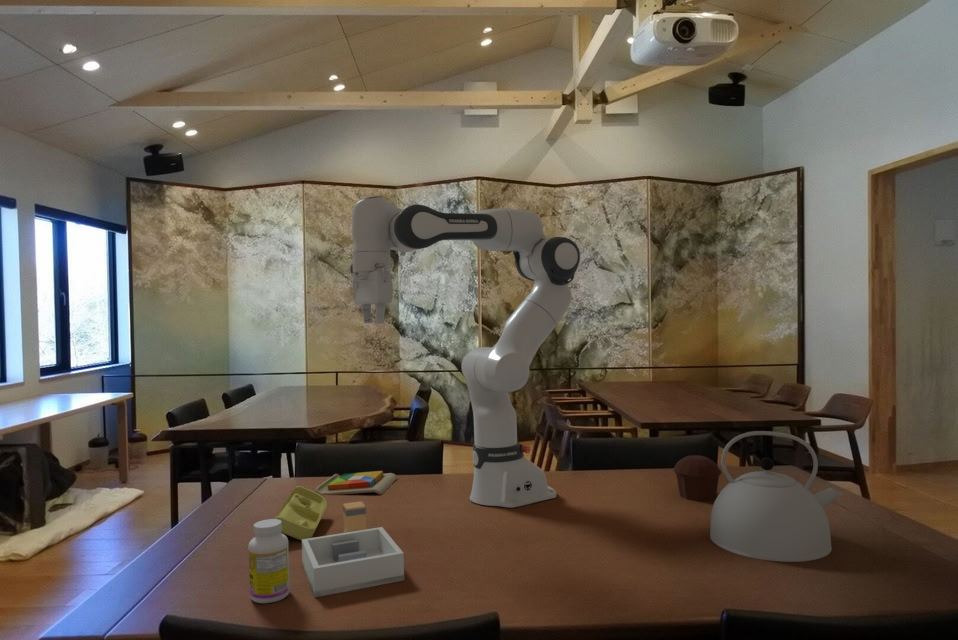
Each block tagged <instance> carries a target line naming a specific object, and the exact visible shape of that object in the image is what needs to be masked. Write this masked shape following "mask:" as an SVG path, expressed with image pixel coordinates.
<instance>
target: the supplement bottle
mask: <svg viewBox="0 0 958 640" xmlns="http://www.w3.org/2000/svg"><path fill="white" fill-rule="evenodd" d="M281 530H282V521H281V520H278V519H274V518H268V519H263V520H259V521H256V522H255V523H254V524H253V533H254V535H255V536H254V537H252V538H251V540H250V541H249V543H248V547H247V548H248V570H249V571H248V572H249V573H248V574H249V577H248V578H249V579H248V580H249V594H250V595H249V597H250V600H252V602H254V603H256V604H271V603H277V602H279V601H281V600H283V599H285V598H286V597H287V596H289V594H290V591H291V584H290V583H291V581H290V580H291V579H290V552H289V539H288V537H287V535H286V534H284V533H281Z"/></svg>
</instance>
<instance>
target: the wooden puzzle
mask: <svg viewBox="0 0 958 640" xmlns="http://www.w3.org/2000/svg"><path fill="white" fill-rule="evenodd" d="M396 479H397V480H398V477H397V475H396V474H395V473H392V472H388V473H387V472H386V473H384V471H383V470H377V471H376V470H375V471H364V472H363V471H362V472H350V473H349V472H348V473H343V474H341V475H340V474H338V473H335V474H333V475H332V476H331V477H329V478H328V479H327V480H325V481H323V482H322V483H321V484H320V485H318V486H317V487H315V492H316V493H318V494H320V495H321V496H323V495H324V496H325V495H326V496H327V495H329V496H331V495H332V496H334V495H337V496H338V495H353V494H367V493H375V494H377V495H379V496H380V495H383V494H384V493H385V492H386V491H387V490H388V489H389V488H390V487H391V486H392V485H393V484H394V483H395V482H396V481H397V480H396ZM395 480H396V481H395ZM394 481H395V482H394ZM393 482H394V483H393ZM392 483H393V484H392ZM391 484H392V485H391Z"/></svg>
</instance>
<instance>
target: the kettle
mask: <svg viewBox="0 0 958 640" xmlns="http://www.w3.org/2000/svg"><path fill="white" fill-rule="evenodd" d="M752 436H771V437H773V436H774V437H781V438H787V439H791V440H793V441H797V442H798V443H800V444H801V445H803V446H804V447H805V448H806V449H807V450H808V451H809V453H810V455H811V458H812V462H813V468H812V471H811V475H810V477H809V478H808V480H807V482H806V484H805V485H803V484H802V483H801V482H799V481H797V480H796V479H794V478H793V477H790V476H789V475H786V474H783V473H779V472H775V471H771V470H773V468H774V467H775V463H774V461H773V459H772V458H770V457H767V456H766V457H762V458H761V460H759V461H760V462H759V464H760V465H759V466H760V467H761V469H762V470H760V471H750V472H747V473H744V474H741V475H740V476H738V477H736V478H734V479H733V477H732V476H731V475H730V473H729V470H728V469H727V465H726V458H727V453H728V451H729V450H730V448H731V446H733V445H734V444H735V443H736V442H738V441H739V440H741V439H743V438H747V437H752ZM720 460H721V463H720V464H721V469H722V471H723V474H724V476H725V477H726V479H727V480H728V482H729V483H727V485H725V486H724V487H723V488H722V490H721V491H720V492H719V493H718V495H716V499H714V500H715V501H714V503H713V504H712V508H711V514H710V526H709V528H710V529H709V530H710V531H709V532H710V533H709V538H710V540H711V541H712V542H713V543H714V544H716V546H717V547H720V548H722V549H723V550H725V551H728V552H731V553H734V554H737V555H740V556H742V557H743V556H744V557H747V558H752V559H757V560H763V561H772V562H782V563H783V562H786V563H787V562H789V563H793V562H795V563H797V562H799V563H801V562H808V561H809V562H810V561H814V560H818V559H822V558H824V557H826V556H828V555H829V554H830V553H831V552H832V549H833V548H832V537H831V529H830V523H829V519H828V516H827V513H826V511H825V508H826V507H828V505H830V504H831V503H833V502H834V501H836V500H837V499H838V498H840V497H841V496H843V493H842V492H841V491H839V490H837V489H835V488H834V487H828V488H826V489H824V490H821V491H818V492H816V493H813V492H812V491H811V490H809V489H810V488H811V486H812V484H813V482H814V480H815V478H816V476H817V473H818V467H819V463H818V461H819V460H818V457H817V454H816V452H815V450H814V449H813V447H812V446H811V445H810V444H809V443H808V442H807V441H805V440H803V439H802V438H800V437H798V436H796V435H793V434H790V433H787V432H786V433H785V432H779V431H771V430H768V431H767V430H766V431H765V430H760V431H759V430H755V431H747V432H744V433H741V434H738V435H737V436H735V437H733V438H732V439H731V440H729V442H728V443H727V444H726V445H725V447H724V448H723V451H722V454H721V459H720Z"/></svg>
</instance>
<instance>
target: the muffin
mask: <svg viewBox="0 0 958 640" xmlns="http://www.w3.org/2000/svg"><path fill="white" fill-rule="evenodd" d="M673 472H674V473H675V474H676V475H675V476H676V480H677V481H676V482H677V487H678V492H679V496H680V497H681V498H683V499H685V500H689V501H695V502H709V501H712V500H716V498H717V492H718V487H719V486H718V485H719V479H720V476H721V475H722V470H721V469H720V467H719V466H718V464H717V463H716V462H714V461H713V459H710V458H709V457H706V456H703V455H695V454H694V455H693V454H692V455H687V456H685V457H683V458H681V459H680V460H678V461H677V462H676V463H675V465H674V467H673Z"/></svg>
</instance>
